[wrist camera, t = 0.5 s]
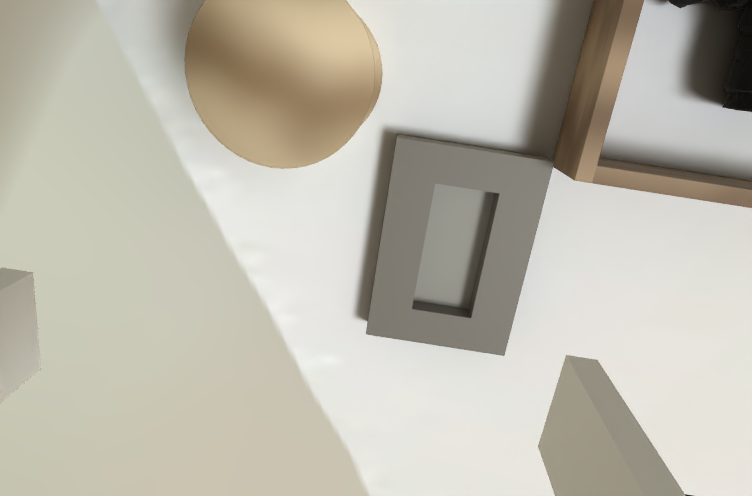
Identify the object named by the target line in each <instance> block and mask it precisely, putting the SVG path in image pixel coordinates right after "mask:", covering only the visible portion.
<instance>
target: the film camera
mask: <svg viewBox="0 0 752 496" xmlns="http://www.w3.org/2000/svg"><path fill="white" fill-rule="evenodd" d="M668 1H669V2H670V3H671V4H673V5H675V6H677V7H679V8H682V7H685V6H686V5H691V4H696V3H700V2H712V3H717V6H718V8H719V10H726V11H732V10H734V9H736V8H737V7H740V8H744V11H743V13H742V16H741V19H740V23H739V27H738V28H739V29H741V30H742V31H743V35H742V38H741V39H740V40H739V41H738V42H737V45H736V48H735V50H734V52H735V60H734V62H733V63H732V66H731V69H730V72H729V75H728V78H727V80H726V83H725V87H724V90H726V91H727V92H728V93H729V95H728V96H727V98H726V102H725V104H724V105H723V108H728V109H734V110H741V111H749V112H752V0H668Z"/></svg>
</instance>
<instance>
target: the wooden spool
mask: <svg viewBox="0 0 752 496" xmlns="http://www.w3.org/2000/svg"><path fill="white" fill-rule="evenodd" d="M185 74H186V80H187V86H188V89H189V93H190V97H191V99H192V102H193V104H194V107H195V109H196V111H197V113H198V114H199V116H200V118H201V120H202V121H203V123H204V124H205V126H206V127H207V128H208V130H209V131H210V132H211V133H212V134H213V136H214V137H215V138H216V139H217V140H218V141H219V142H220V143H222V144H223V145H224V146H225V147H226V148H227V149H229V150H230V151H232V152H233V153H235V154H236V155H238V156H240V157H242V158H244V159H246V160H248V161H250V162H253V163H256V164H259V165H262V166H267V167H271V168H282V169H284V168H298V167H303V166H308V165H311V164H314V163H317V162H319V161H321V160H323V159H325V158H328V157H329V156H331V155H332V154H334V153H335V152H337V151H338V150H339V149H340V148H341V147H343V146H344V145H345V144H346V143H347V142H348V141H349V140H350V139H351V137H352V136H353V135H354V134H355V133H356V131H357V130H358V128H359V127H360V126H361V125H362V123H363V122H364V121H365V120H366V119H367V118H368V116H369V115H370V113H371V112H372V110H373V108H374V106H375V104H376V102H377V99H378V96H379V93H380V89H381V84H382V62H381V56H380V52H379V49H378V46H377V43H376V41H375V39H374V37H373V35H372V33H371V32H370V30H369V28H368V27H367V26H366V24H365V23H364V22H363V21H362V19H361V18H360V17H359V16H358V15H357V14H356V12H355V11H354V10H353V8H352V7H351V6H350V5H349V3H348V2H347V1H346V0H205V2H204V3H203V4H202V6H201V7H200V9H199V10H198V12H197V14H196V16H195V18H194V20H193V22H192V25H191V28H190V31H189V34H188V38H187V43H186V50H185Z"/></svg>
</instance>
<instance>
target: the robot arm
mask: <svg viewBox="0 0 752 496" xmlns="http://www.w3.org/2000/svg"><path fill="white" fill-rule="evenodd" d="M39 370H41V363H40V351H39V339H38V327H37V316H36V303H35V292H34V279H33V272H26V271H20V270H13V269H7V268H0V403H1V402H2V401H4V400H5V399H6V398H7V397H8V396H10V395H11V394H12V393H13V392H14V391H15V390H17V389H18V388H19V387H20V386H21V385H23V384H24V383H25V382H26V381H27V380H29V379H30V378H31V377H32V376H33V375H35V374H36V373H37V372H38V371H39ZM538 448H539V450H540V453H541V456H542V459H543V462H544V465H545V468H546V471H547V473H548V476H549V479H550V482H551V485H552V488H553V491H554V494H555V496H692V495H686V494H684V492H683V491H682V489H681V488H680V486H679V485H678V483H677V482H676V480H675V479H674V477H673V476H672V474H671V472H670V471H669V469H668V468H667V466H666V465H665V463H664V462H663V460H662V459H661V457H660V456H659V454H658V452H657V451H656V449H655V448H654V446H653V445H652V443H651V442H650V440H649V439H648V437H647V436H646V434H645V432H644V431H643V429H642V428H641V426H640V425H639V423H638V422H637V420H636V419H635V417H634V416H633V414H632V412H631V411H630V409H629V408H628V406H627V405H626V403H625V402H624V400H623V399H622V397H621V396H620V394H619V393H618V391H617V389H616V388H615V386H614V385H613V383H612V382H611V380H610V379H609V377H608V376H607V374H606V373H605V371H604V369H603V368H602V366H601V365H600V363H599V362H598V360H594V359H587V358H581V357H575V356H568V355H566V358H565V361H564V364H563V367H562V371H561V374H560V377H559V380H558V383H557V387H556V390H555V393H554V396H553V400H552V403H551V406H550V409H549V413H548V416H547V419H546V422H545V426H544V429H543V432H542V435H541V439H540V442H539V445H538Z"/></svg>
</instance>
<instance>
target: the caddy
mask: <svg viewBox="0 0 752 496" xmlns="http://www.w3.org/2000/svg"><path fill="white" fill-rule="evenodd" d="M643 2H644V0H594V2H593V6H592V10H591V14H590V18H589V22H588V26H587V30H586V34H585V38H584V41H583V45H582V49H581V53H580V57H579V61H578V65H577V69H576V73H575V76H574V80H573V84H572V88H571V92H570V96H569V100H568V104H567V108H566V111H565V115H564V119H563V123H562V127H561V131H560V135H559V139H558V143H557V146H556V150H555V154H554V158H553V162H554V165H553V167H554V168H556V169H558V170H559V171H561V172H562V173H564V174H565V175H567V176H569V177H570V178H572V179H573V180H575V181H581V182H588V183H594V184H601V185H607V186H614V187H620V188H627V189H633V190H639V191H646V192H652V193H659V194H665V195H672V196H678V197H685V198H691V199H698V200H704V201H710V202H717V203H723V204H730V205H736V206H743V207H749V208H752V181H747V180H741V179H734V178H728V177H721V176H715V175H708V174H702V173H695V172H689V171H683V170H676V169H670V168H663V167H657V166H650V165H644V164H637V163H631V162H625V161H618V160H612V159H605V158H599V156H600V153H601V149H602V146H603V142H604V139H605V135H606V132H607V128H608V125H609V121H610V118H611V114H612V111H613V107H614V104H615V100H616V97H617V93H618V90H619V86H620V83H621V79H622V76H623V72H624V69H625V65H626V62H627V58H628V55H629V51H630V48H631V44H632V41H633V37H634V34H635V30H636V27H637V23H638V20H639V16H640V13H641V9H642V6H643Z"/></svg>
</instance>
